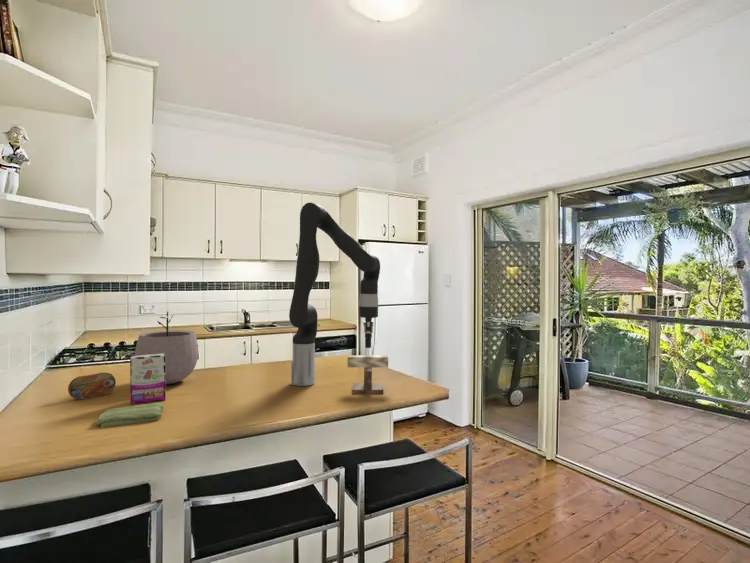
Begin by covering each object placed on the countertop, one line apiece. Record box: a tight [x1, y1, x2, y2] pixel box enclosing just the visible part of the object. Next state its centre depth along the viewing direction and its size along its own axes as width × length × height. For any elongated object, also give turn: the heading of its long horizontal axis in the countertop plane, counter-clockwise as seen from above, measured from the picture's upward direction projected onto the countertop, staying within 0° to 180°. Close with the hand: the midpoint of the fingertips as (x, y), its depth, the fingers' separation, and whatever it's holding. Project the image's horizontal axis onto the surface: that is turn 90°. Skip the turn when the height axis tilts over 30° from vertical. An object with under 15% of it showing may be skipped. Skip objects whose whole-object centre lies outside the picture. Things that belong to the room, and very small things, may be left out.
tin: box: [67, 372, 117, 401], centre depth 159 cm, size 15×3×8 cm, turn 143°
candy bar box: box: [129, 353, 166, 405], centre depth 154 cm, size 11×5×16 cm, turn 118°
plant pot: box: [134, 311, 199, 385], centre depth 180 cm, size 24×24×30 cm
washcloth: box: [95, 401, 164, 428], centre depth 135 cm, size 13×18×3 cm
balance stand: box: [351, 367, 384, 395], centre depth 171 cm, size 12×10×10 cm
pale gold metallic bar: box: [347, 354, 389, 369], centre depth 171 cm, size 16×4×4 cm, turn 91°
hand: (368, 345), depth 171 cm, fingers open, 8 cm apart
